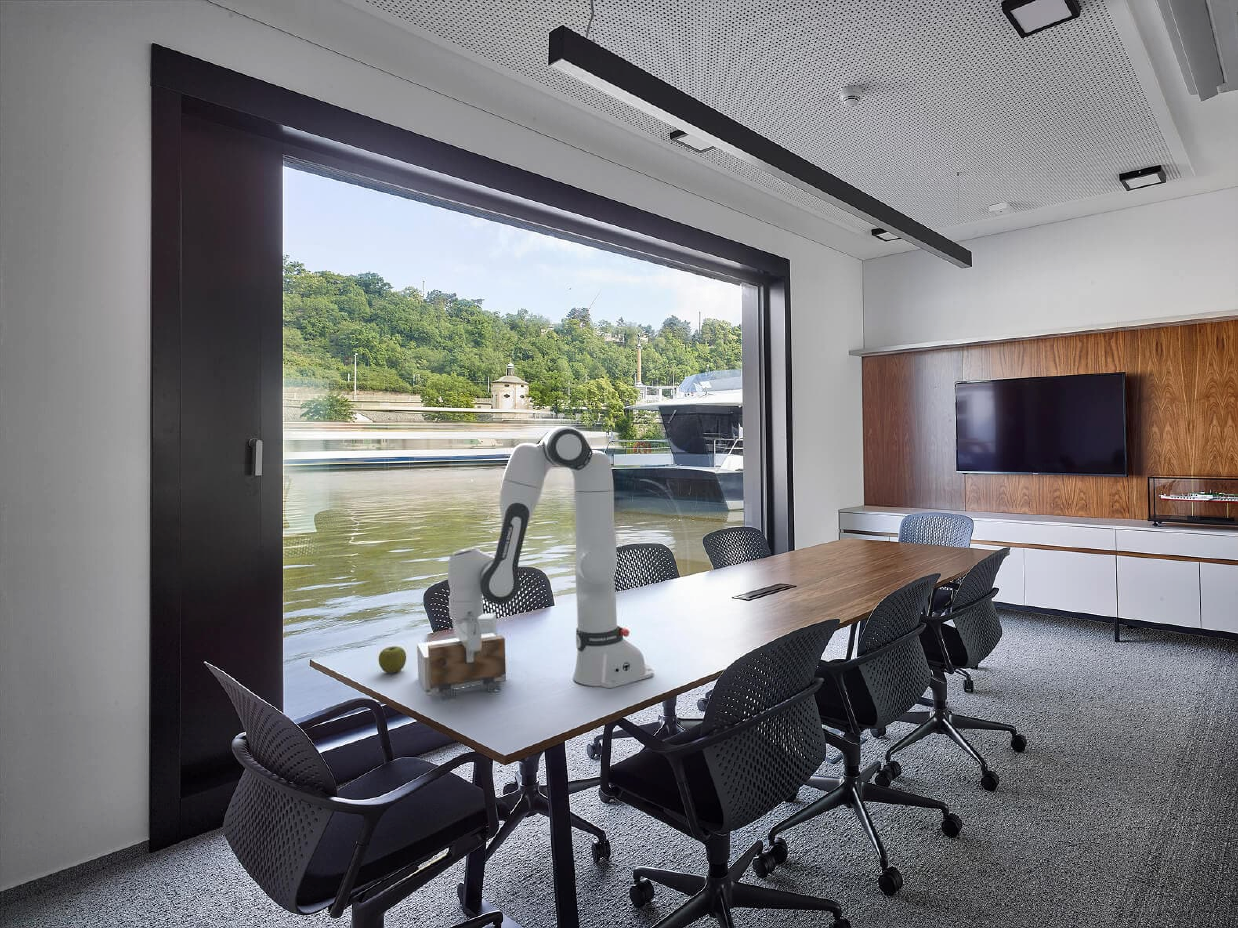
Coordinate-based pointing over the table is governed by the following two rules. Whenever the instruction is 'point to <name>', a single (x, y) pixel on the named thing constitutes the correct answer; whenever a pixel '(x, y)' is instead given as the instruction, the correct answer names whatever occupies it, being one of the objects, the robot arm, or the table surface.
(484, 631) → the small box
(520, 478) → the robot arm
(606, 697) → the table surface
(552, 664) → the table surface
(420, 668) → the cabinet
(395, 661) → the apple
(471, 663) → the door
